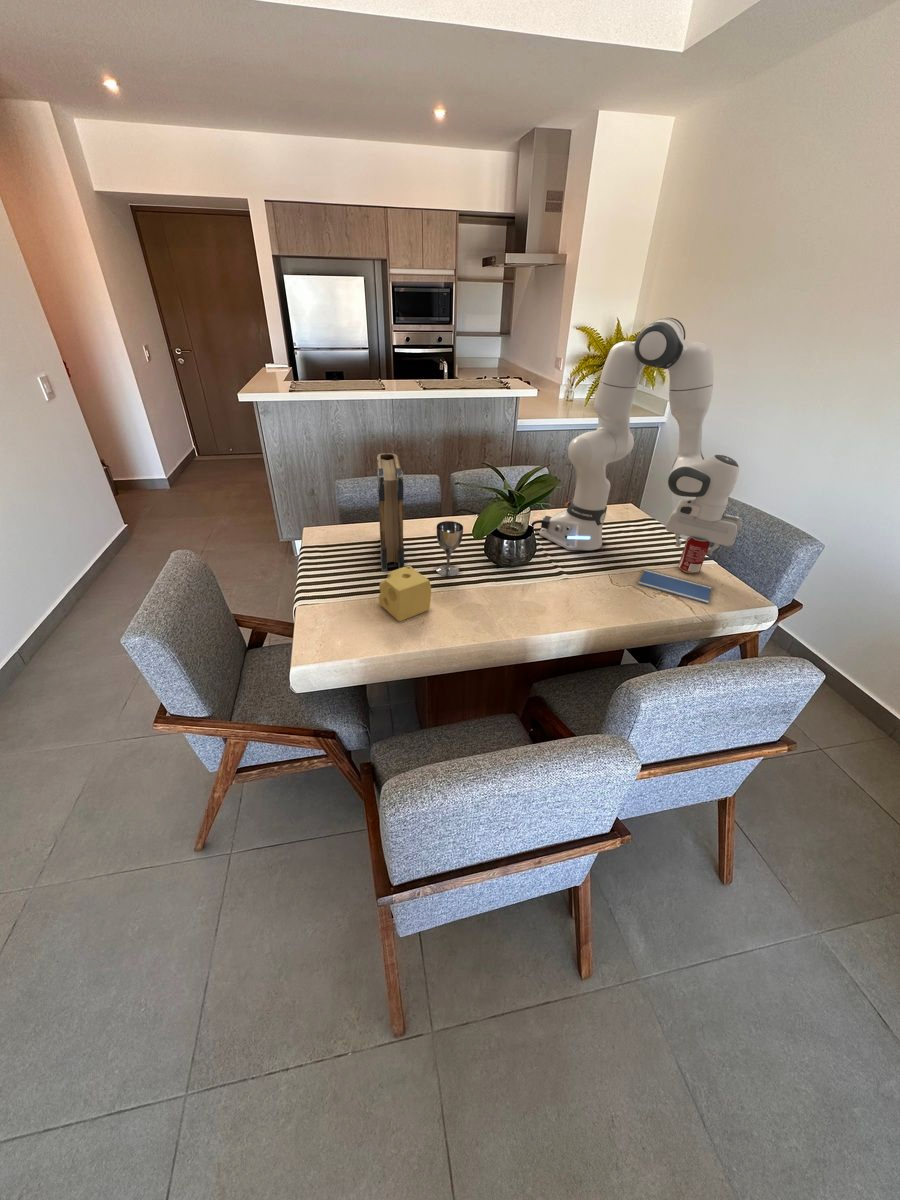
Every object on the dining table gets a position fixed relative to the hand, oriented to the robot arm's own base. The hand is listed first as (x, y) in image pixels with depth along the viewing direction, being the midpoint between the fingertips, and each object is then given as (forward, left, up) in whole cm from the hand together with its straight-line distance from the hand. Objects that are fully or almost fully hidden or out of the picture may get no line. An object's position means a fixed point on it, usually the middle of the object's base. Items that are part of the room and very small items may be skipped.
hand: (693, 549), depth 159 cm
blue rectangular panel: (+2, -14, -7) cm, 16 cm away
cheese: (-47, -82, -7) cm, 95 cm away
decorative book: (-74, -63, -7) cm, 98 cm away
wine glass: (-53, -58, -7) cm, 79 cm away
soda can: (+1, 0, -7) cm, 7 cm away
